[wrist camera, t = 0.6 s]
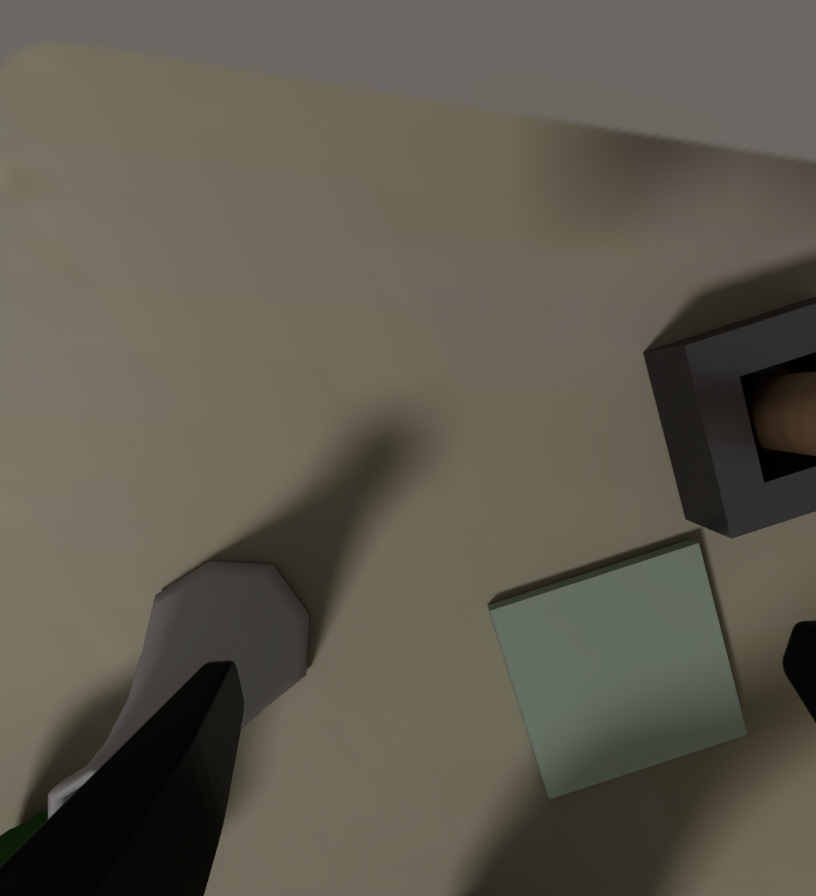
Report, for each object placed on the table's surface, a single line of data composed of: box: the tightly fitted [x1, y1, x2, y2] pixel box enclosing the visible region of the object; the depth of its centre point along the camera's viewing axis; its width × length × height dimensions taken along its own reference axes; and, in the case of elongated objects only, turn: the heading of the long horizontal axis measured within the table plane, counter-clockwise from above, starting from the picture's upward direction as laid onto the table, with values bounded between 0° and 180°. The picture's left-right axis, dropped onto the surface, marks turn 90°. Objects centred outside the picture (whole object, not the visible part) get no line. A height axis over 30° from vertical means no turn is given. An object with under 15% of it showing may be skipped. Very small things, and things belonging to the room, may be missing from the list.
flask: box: [48, 561, 309, 819], centre depth 17 cm, size 7×7×10 cm
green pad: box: [487, 539, 747, 800], centre depth 23 cm, size 10×10×1 cm
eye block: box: [643, 297, 816, 538], centre depth 20 cm, size 8×8×3 cm
